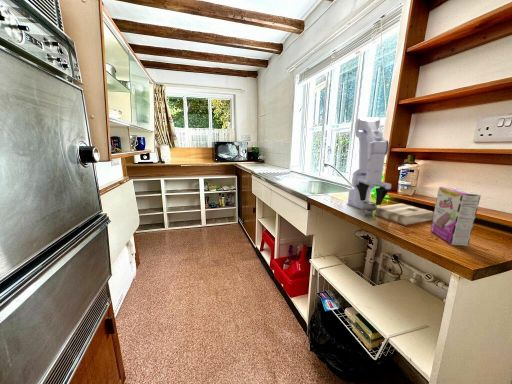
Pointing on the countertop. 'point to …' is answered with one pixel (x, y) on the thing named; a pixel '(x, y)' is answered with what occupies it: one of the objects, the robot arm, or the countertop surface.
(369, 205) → the peg
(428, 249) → the countertop surface
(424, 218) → the board
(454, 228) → the candy bar box
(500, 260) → the countertop surface
